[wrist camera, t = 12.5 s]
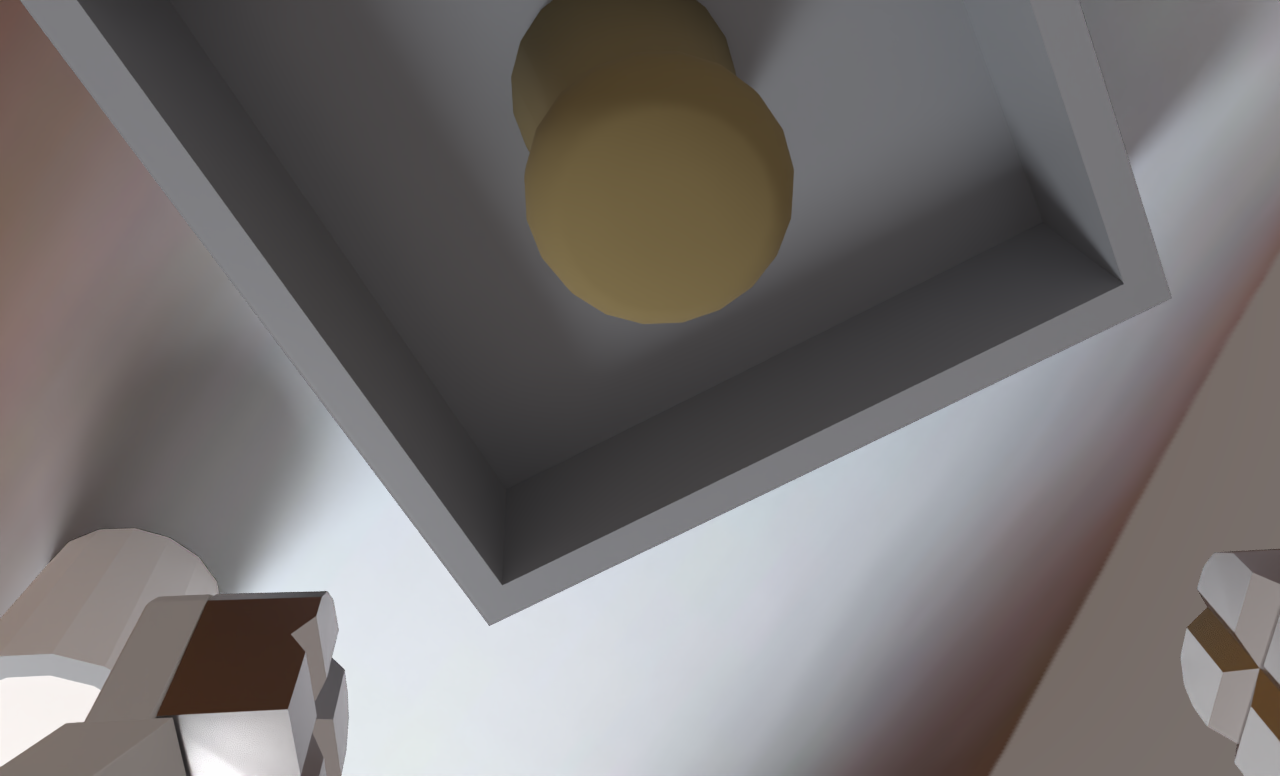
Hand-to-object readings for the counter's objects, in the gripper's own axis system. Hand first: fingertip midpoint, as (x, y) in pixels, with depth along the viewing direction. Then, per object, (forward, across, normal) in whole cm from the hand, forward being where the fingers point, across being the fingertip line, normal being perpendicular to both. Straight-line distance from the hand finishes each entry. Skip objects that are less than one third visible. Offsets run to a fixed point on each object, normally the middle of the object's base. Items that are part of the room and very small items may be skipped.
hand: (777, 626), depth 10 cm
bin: (+23, 0, 0) cm, 23 cm away
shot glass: (+23, +16, +16) cm, 32 cm away
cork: (+22, 0, -1) cm, 22 cm away
